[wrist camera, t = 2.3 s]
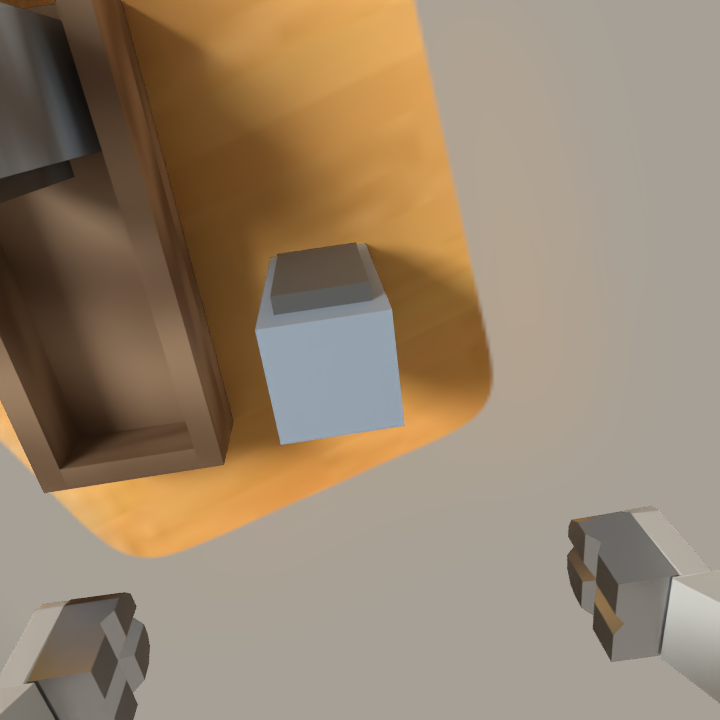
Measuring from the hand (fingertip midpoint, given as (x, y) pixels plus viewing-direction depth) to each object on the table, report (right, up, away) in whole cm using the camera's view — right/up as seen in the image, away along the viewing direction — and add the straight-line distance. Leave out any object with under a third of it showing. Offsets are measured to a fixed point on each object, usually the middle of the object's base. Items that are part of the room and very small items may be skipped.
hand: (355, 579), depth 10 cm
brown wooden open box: (-11, +8, +12) cm, 18 cm away
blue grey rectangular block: (-1, +7, +14) cm, 16 cm away
